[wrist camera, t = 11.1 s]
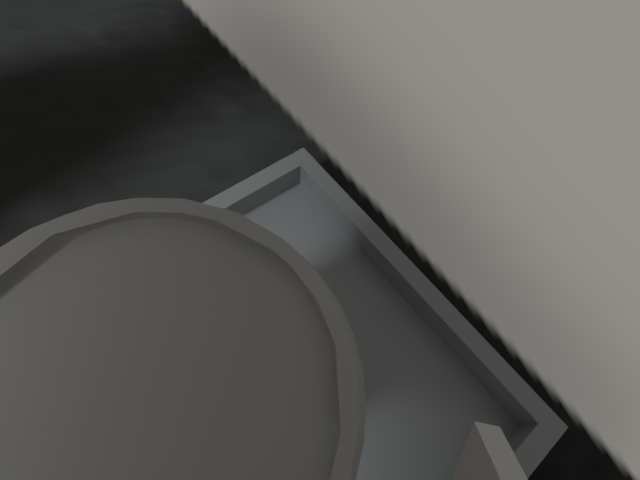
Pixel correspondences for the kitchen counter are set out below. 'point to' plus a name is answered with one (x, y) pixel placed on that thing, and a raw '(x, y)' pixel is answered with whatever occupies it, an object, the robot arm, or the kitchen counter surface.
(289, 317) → the disposable coffee cup
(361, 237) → the tray
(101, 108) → the kitchen counter surface
